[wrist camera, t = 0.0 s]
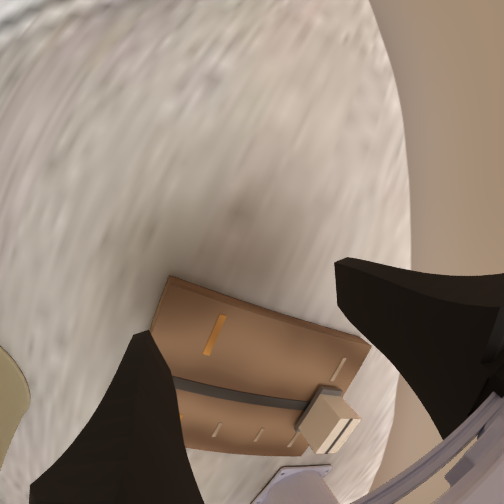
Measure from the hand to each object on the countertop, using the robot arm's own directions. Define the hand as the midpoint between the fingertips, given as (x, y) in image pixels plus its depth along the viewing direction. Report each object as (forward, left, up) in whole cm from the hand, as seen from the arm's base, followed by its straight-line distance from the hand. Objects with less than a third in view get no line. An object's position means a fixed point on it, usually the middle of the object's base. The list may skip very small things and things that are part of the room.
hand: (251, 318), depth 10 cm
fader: (-9, -13, -8) cm, 18 cm away
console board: (-9, -7, -11) cm, 16 cm away
